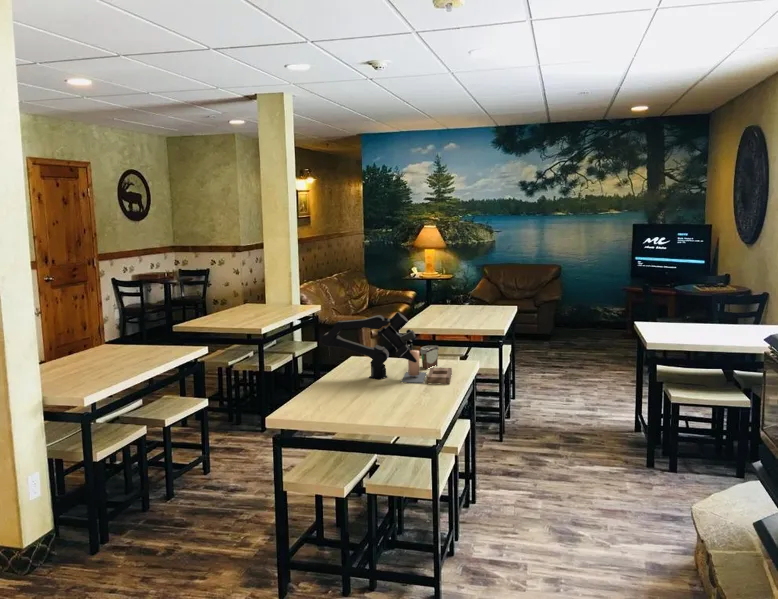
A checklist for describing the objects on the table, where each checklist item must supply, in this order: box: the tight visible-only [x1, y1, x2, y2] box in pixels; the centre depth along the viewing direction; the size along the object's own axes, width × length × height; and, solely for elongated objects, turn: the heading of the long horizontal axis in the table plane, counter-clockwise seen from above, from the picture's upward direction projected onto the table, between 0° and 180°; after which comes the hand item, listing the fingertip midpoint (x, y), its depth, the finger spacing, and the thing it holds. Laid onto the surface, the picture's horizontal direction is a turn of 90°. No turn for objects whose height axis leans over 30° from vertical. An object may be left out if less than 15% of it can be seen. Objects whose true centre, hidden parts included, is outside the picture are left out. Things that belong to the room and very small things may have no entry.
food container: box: [419, 345, 439, 370], centre depth 329 cm, size 12×6×10 cm, turn 144°
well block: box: [427, 367, 453, 385], centre depth 306 cm, size 10×18×3 cm, turn 172°
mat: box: [401, 371, 427, 384], centre depth 308 cm, size 10×18×1 cm, turn 172°
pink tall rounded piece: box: [407, 349, 420, 376], centre depth 307 cm, size 5×5×11 cm
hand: (416, 360), depth 307 cm, fingers closed on pink tall rounded piece, 5 cm apart
